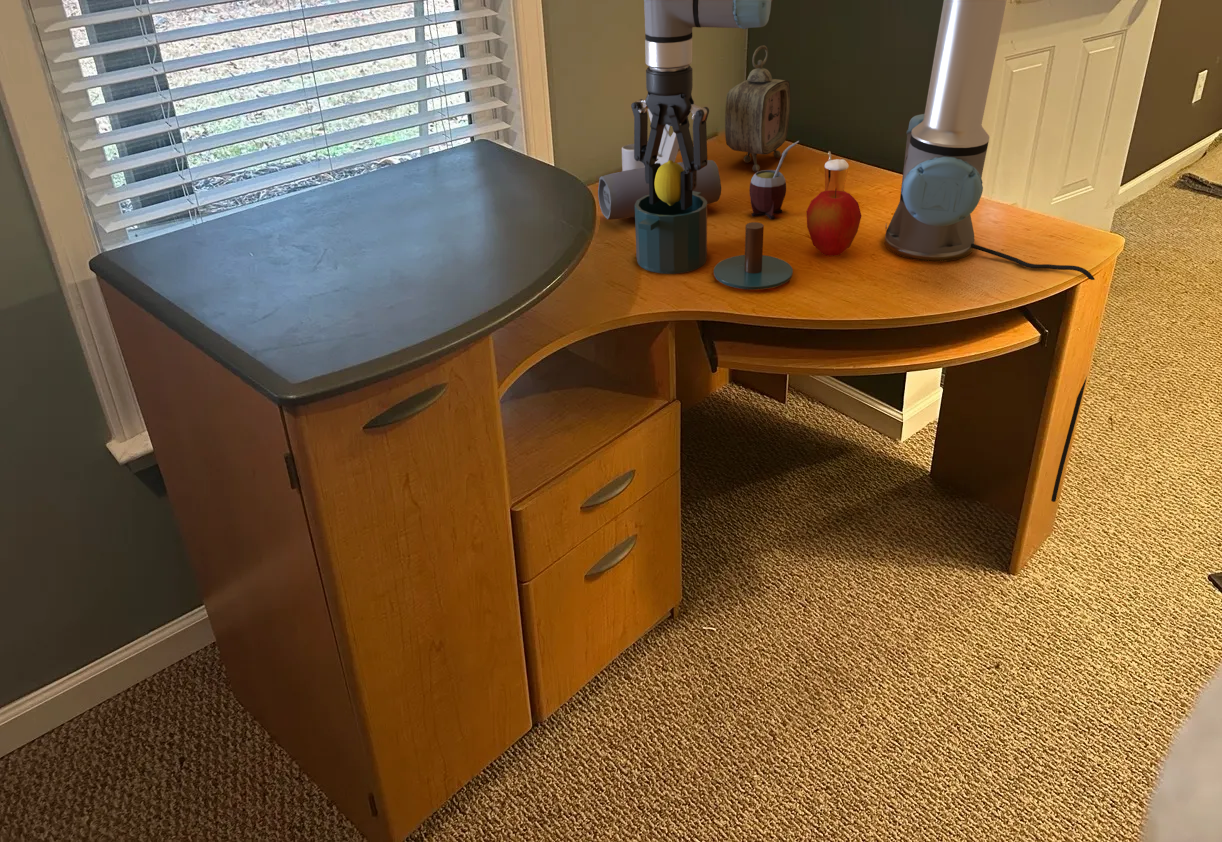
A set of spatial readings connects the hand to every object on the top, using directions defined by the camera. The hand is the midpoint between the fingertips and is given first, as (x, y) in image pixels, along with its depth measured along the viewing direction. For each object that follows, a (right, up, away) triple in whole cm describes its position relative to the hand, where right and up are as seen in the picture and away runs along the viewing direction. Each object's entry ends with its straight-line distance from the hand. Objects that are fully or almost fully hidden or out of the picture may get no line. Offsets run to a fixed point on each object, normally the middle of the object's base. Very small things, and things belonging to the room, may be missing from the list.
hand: (670, 204), depth 171 cm
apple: (+29, -8, +5) cm, 30 cm away
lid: (+14, -12, -2) cm, 19 cm away
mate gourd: (+21, +3, +22) cm, 31 cm away
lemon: (0, 0, 0) cm, 0 cm away
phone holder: (-1, +14, +41) cm, 44 cm away
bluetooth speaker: (-1, +3, +24) cm, 25 cm away
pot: (0, -9, +6) cm, 10 cm away
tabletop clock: (+22, +20, +49) cm, 57 cm away
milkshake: (+34, +5, +25) cm, 42 cm away
